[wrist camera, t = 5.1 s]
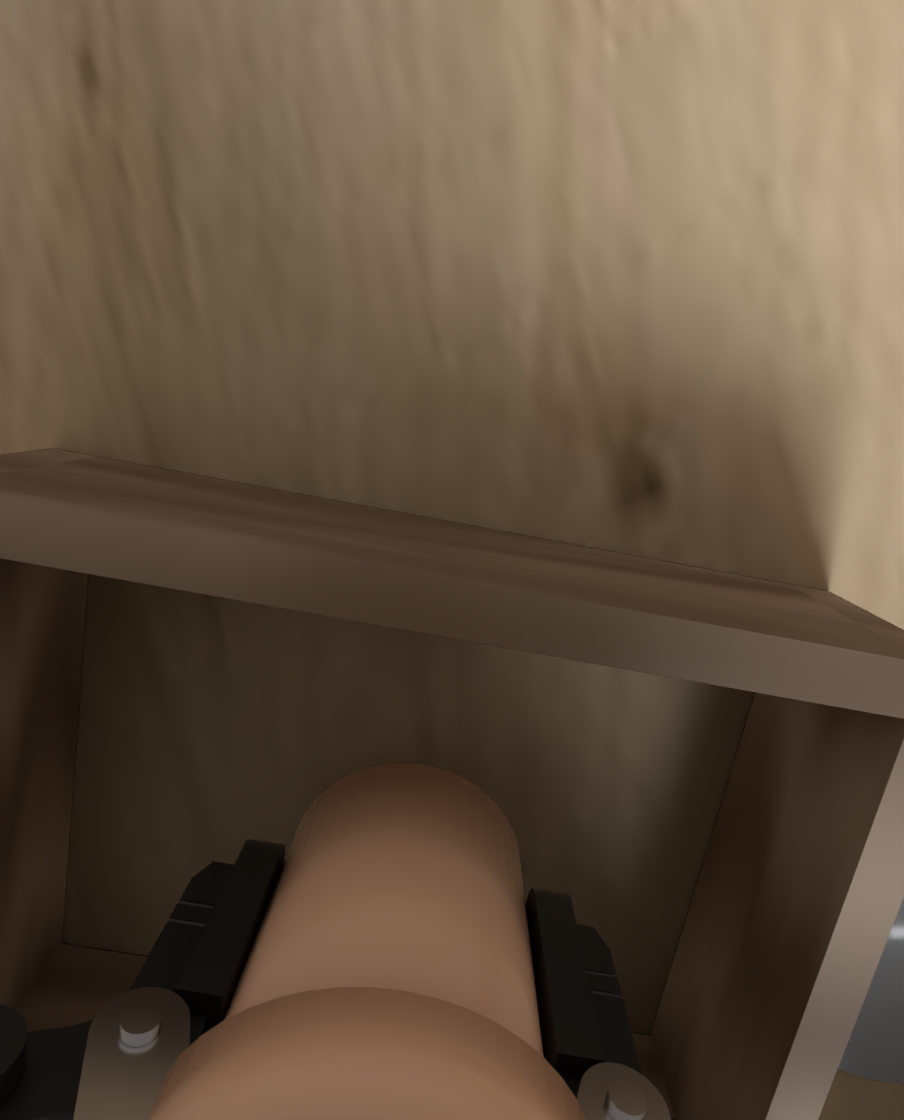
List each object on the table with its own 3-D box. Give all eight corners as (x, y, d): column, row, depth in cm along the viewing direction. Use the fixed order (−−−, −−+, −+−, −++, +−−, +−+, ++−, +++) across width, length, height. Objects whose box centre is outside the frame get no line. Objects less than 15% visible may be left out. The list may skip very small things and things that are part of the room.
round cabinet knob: (286, 717, 14) (91, 1071, 7) (571, 767, 14) (686, 1168, 7) (252, 957, 15) (59, 1472, 8) (513, 1002, 15) (556, 1544, 8)
